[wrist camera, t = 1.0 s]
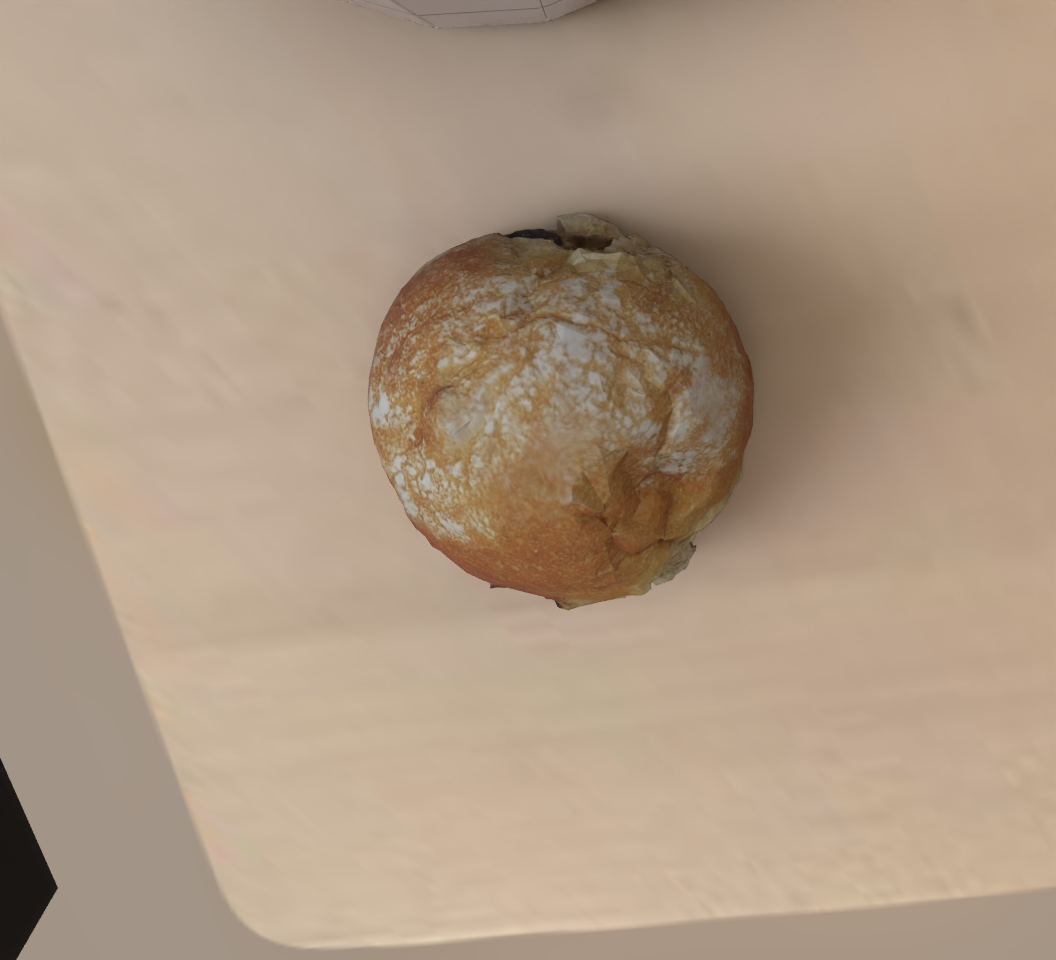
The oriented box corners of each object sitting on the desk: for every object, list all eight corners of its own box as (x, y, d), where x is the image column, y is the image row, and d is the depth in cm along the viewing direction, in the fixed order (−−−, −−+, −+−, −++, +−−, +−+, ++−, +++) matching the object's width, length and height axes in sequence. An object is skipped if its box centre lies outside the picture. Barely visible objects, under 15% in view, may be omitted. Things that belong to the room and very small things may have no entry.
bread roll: (715, 243, 29) (743, 125, 21) (764, 583, 28) (813, 594, 20) (396, 293, 30) (308, 198, 22) (433, 622, 29) (354, 647, 21)
